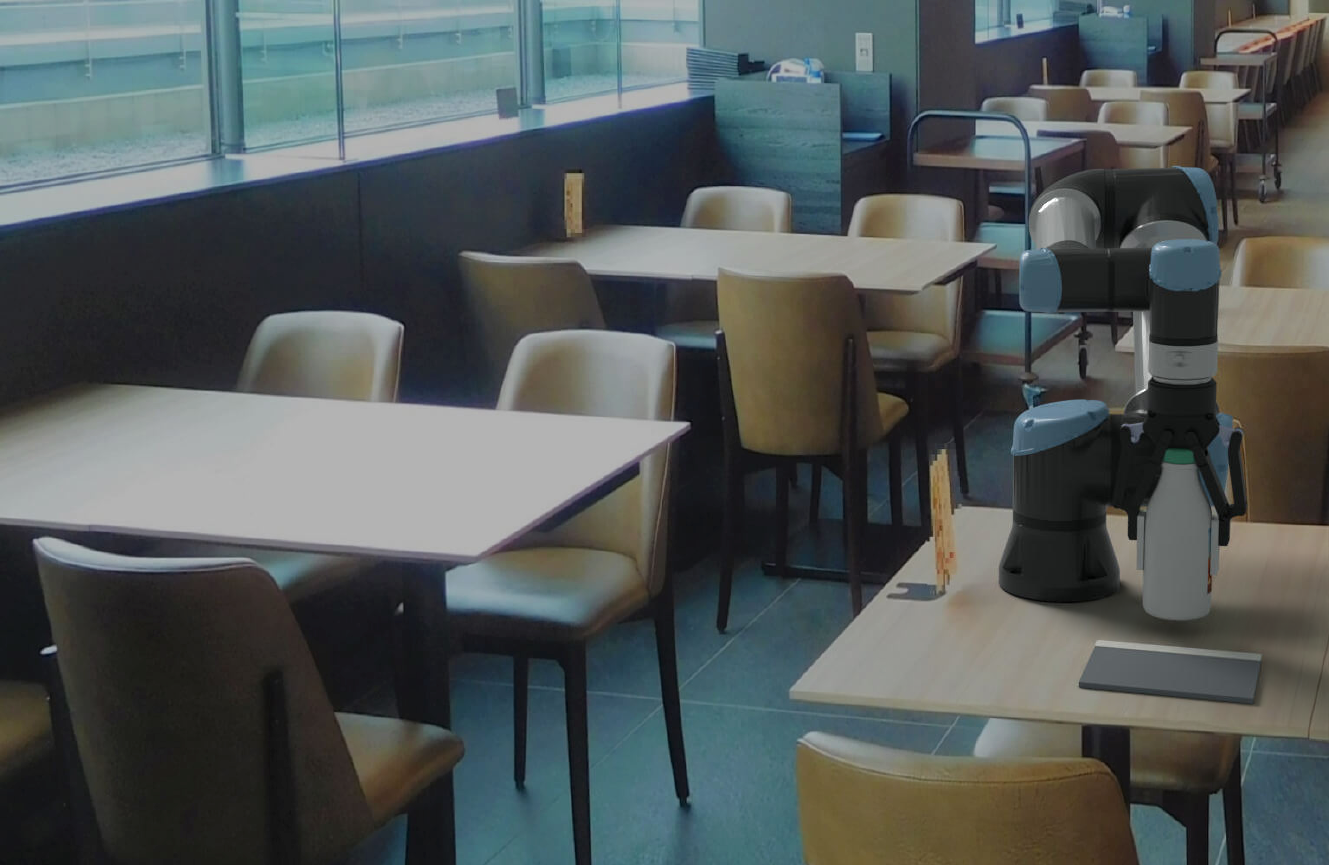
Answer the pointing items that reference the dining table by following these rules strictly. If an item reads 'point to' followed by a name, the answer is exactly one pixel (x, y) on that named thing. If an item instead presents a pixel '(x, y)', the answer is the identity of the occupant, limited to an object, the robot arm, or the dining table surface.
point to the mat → (1172, 671)
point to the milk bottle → (1178, 542)
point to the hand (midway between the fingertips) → (1177, 568)
